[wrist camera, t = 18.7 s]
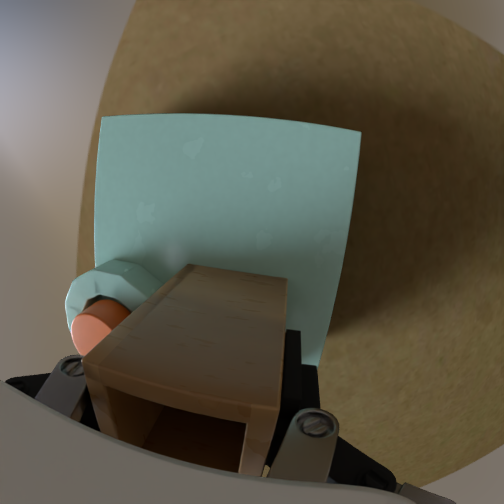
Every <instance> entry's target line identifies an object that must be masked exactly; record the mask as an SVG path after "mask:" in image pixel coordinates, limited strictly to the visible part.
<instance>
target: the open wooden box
mask: <svg viewBox="0 0 504 504" xmlns="http://www.w3.org/2000/svg"><path fill="white" fill-rule="evenodd" d="M287 291H288V279H287V278H282V277H274V276H267V275H260V274H253V273H246V272H240V271H233V270H226V269H220V268H213V267H207V266H201V265H194V264H187V265H186V266H185V267H184V268H182V269H181V270H180V271H179V272H178V273H177V274H175V275H174V276H173V277H172V278H171V279H170V280H169V281H167V282H166V283H165V284H164V285H163V286H162V287H160V288H159V289H158V290H157V291H156V292H155V293H154V294H153V295H151V296H150V297H149V298H148V299H147V300H146V301H145V302H143V303H142V304H141V305H140V306H139V307H138V308H137V309H136V310H134V311H133V312H132V313H131V314H130V315H129V316H128V317H127V318H126V319H124V320H123V321H122V322H121V323H120V324H119V325H118V326H117V327H116V328H115V329H113V330H112V331H111V332H110V333H109V334H108V335H107V336H106V337H105V338H104V339H102V340H101V341H100V342H99V343H98V344H97V345H96V346H95V347H94V348H93V349H92V350H91V351H89V352H88V353H87V354H86V355H85V356H84V357H83V358H82V366H83V370H84V375H85V379H86V383H87V387H88V390H89V394H90V398H91V401H92V405H93V408H94V412H95V415H96V418H97V421H98V425H99V428H100V431H101V433H103V434H106V435H108V436H110V437H113V438H115V439H118V440H120V441H123V442H126V443H128V444H131V445H134V446H137V447H139V448H142V449H145V450H148V451H151V452H154V453H157V454H161V455H164V456H167V457H171V458H174V459H178V460H181V461H185V462H189V463H193V464H197V465H201V466H205V467H209V468H214V469H219V470H224V471H229V472H234V473H240V474H246V475H252V476H259V477H262V474H263V470H264V467H265V463H266V460H267V456H268V453H269V449H270V445H271V442H272V438H273V434H274V430H275V427H276V423H277V419H278V415H279V411H280V401H281V389H282V375H283V361H284V346H285V329H286V311H287Z"/></svg>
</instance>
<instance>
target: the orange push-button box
mask: <svg viewBox="0 0 504 504" xmlns="http://www.w3.org/2000/svg"><path fill="white" fill-rule="evenodd" d="M361 134H362V133H361V132H360V131H355V130H350V129H344V128H339V127H333V126H327V125H321V124H314V123H307V122H300V121H292V120H284V119H275V118H265V117H254V116H241V115H224V114H195V113H161V114H133V115H116V116H104V117H102V121H101V129H100V137H99V146H98V157H97V169H96V185H95V214H94V240H95V268H94V269H92V270H90V271H88V272H86V273H84V274H83V275H81V276H79V277H77V278H75V279H74V280H73V281H72V284H71V287H70V290H69V292H68V295H67V298H66V301H65V307H66V314H67V321H68V326H69V330H70V332H71V325H72V322H73V320H74V318H75V317H76V316H77V315H78V314H80V313H81V312H83V311H84V310H85V309H87V308H88V307H90V306H91V305H93V304H94V303H95V302H97V301H99V300H104V299H107V300H113V301H116V302H118V303H120V304H121V305H123V306H124V307H125V308H126V309H127V310H128V311H129V312H130V313H132V312H133V311H134V310H136V309H137V308H138V307H139V306H140V305H141V304H142V303H143V302H145V301H146V300H147V299H148V298H149V297H150V296H151V295H153V294H154V293H155V292H156V291H157V290H158V289H159V288H160V287H162V286H163V285H164V284H165V283H166V282H167V281H169V280H170V279H171V278H172V277H173V276H174V275H175V274H177V273H178V272H179V271H180V270H181V269H182V268H184V267H185V266H186V265H187V264H194V265H201V266H207V267H213V268H220V269H226V270H233V271H240V272H246V273H253V274H260V275H267V276H274V277H282V278H287V279H288V291H287V311H286V329H291V330H299V331H301V356H302V364H308V365H316V366H317V369H318V366H319V362H320V359H321V355H322V351H323V347H324V344H325V340H326V336H327V332H328V328H329V324H330V320H331V315H332V311H333V307H334V302H335V298H336V293H337V289H338V284H339V279H340V275H341V270H342V265H343V259H344V254H345V249H346V243H347V238H348V232H349V226H350V220H351V214H352V207H353V200H354V194H355V186H356V179H357V171H358V162H359V154H360V144H361ZM286 329H285V332H286Z"/></svg>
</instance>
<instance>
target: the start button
mask: <svg viewBox="0 0 504 504" xmlns="http://www.w3.org/2000/svg"><path fill="white" fill-rule="evenodd" d="M130 314H131V313H130V312H129V311H128V310H127V309H126V308H125V307H124V306H123V305H121V304H120V303H118V302H116V301H113V300H107V299H104V300H99V301H97V302H95V303H94V304H93V305H91V306H90V307H88V308H87V309H85V310H84V311H83V312H81V313H80V314H78V315H77V316H76V317H75V318H74V320H73V322H72V325H71V335H72V339H73V342H74V344H75V347H76V348H77V350H78V352H79V353H80V354H81V355H83V356H85V355H86V354H87V353H88V352H89V351H91V350H92V349H93V348H94V347H95V346H96V345H97V344H98V343H99V342H100V341H101V340H102V339H104V338H105V337H106V336H107V335H108V334H109V333H110V332H111V331H112V330H113V329H115V328H116V327H117V326H118V325H119V324H120V323H121V322H122V321H123V320H124V319H126V318H127V317H128V316H129V315H130Z"/></svg>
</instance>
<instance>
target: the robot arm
mask: <svg viewBox="0 0 504 504" xmlns="http://www.w3.org/2000/svg"><path fill="white" fill-rule="evenodd" d="M83 357H84V356H83V355H70V356H67V357H65V358H63V359H61V360H60V362H58V364H57V365H56V367H55V368H54V370H53V371H52V373H46V374H39V375H30V376H22V377H14V378H10V379H8V380H6V381H5V382H3V381H1V380H0V504H456V503H455V502H454V501H452V500H450V499H447V498H445V497H442V496H439V495H436V494H433V493H431V492H428V491H425V490H423V489H420V488H418V487H415V486H413V485H411V484H408V483H406V482H405V483H404V484H403V485H401V484H399V483H397V482H396V478H395V476H394V475H393V473H392V472H391V471H389V470H388V469H387V468H385V467H384V466H382V465H381V464H379V463H378V462H376V461H374V460H373V459H371V458H370V457H368V456H367V455H365V454H364V453H362V452H361V451H359V450H358V449H356V448H355V447H353V446H352V445H351V444H349V443H348V442H346V441H345V440H343V439H342V438H341V437H339V436H338V433H339V422H338V420H337V419H336V418H335V416H334V415H333V414H331V413H329V412H328V411H325V410H322V409H320V397H319V385H318V374H317V366H316V365H308V364H302V356H301V331H299V330H291V329H286V332H285V346H284V361H283V375H282V389H281V401H280V411H279V415H278V419H277V423H276V427H275V430H274V434H273V438H272V442H271V445H270V449H269V453H268V456H267V460H266V463H265V465H268V466H269V467H270V470H269V472H268V474H267V477H259V476H252V475H246V474H240V473H234V472H229V471H224V470H219V469H214V468H209V467H205V466H201V465H197V464H193V463H189V462H185V461H181V460H178V459H174V458H171V457H167V456H164V455H161V454H157V453H154V452H151V451H148V450H145V449H142V448H139V447H137V446H134V445H131V444H128V443H126V442H123V441H120V440H118V439H115V438H113V437H110V436H108V435H106V434H103V433H101V431H100V428H99V425H98V421H97V418H96V415H95V412H94V408H93V405H92V401H91V398H90V394H89V390H88V387H87V383H86V379H85V375H84V370H83V366H82V358H83Z"/></svg>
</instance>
